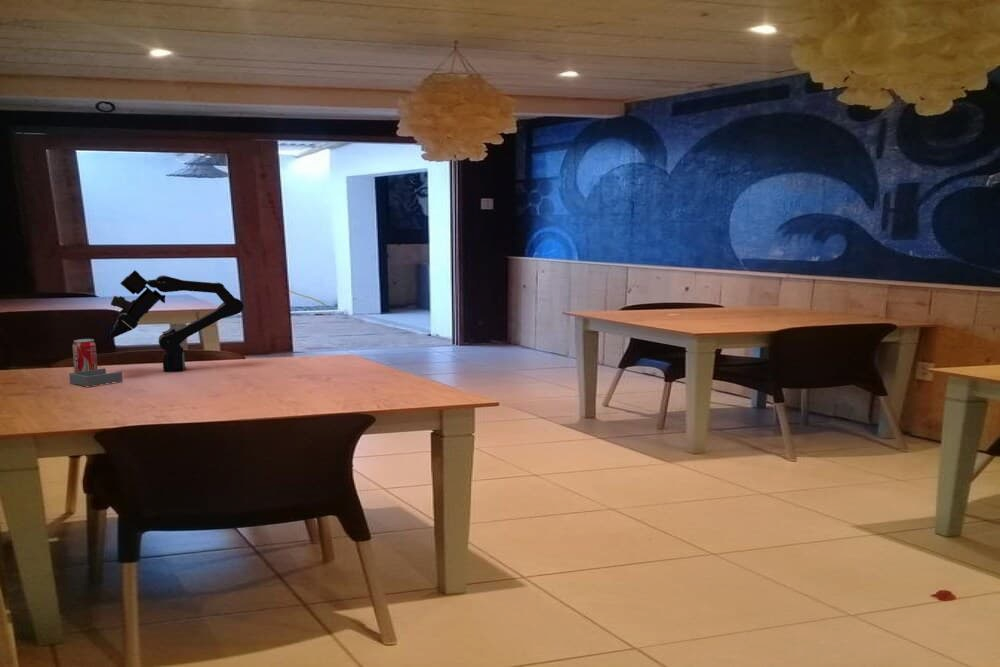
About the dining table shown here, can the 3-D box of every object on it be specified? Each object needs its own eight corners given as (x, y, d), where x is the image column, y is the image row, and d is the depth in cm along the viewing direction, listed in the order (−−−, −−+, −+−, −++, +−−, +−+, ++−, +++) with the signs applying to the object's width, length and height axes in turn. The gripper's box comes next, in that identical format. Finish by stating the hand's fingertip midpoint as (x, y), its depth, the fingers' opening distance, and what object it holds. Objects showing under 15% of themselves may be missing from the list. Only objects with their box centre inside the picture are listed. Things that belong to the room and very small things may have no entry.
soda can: (95, 374, 272) (92, 338, 270) (100, 377, 266) (97, 340, 265) (72, 376, 267) (69, 339, 266) (77, 379, 262) (74, 342, 260)
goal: (105, 377, 265) (104, 368, 265) (122, 381, 258) (121, 371, 258) (70, 383, 256) (69, 373, 256) (87, 387, 249) (86, 377, 249)
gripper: (124, 286, 278) (92, 317, 274) (125, 289, 261) (90, 323, 257) (149, 307, 282) (117, 338, 279) (151, 311, 265) (117, 345, 262)
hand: (110, 335), depth 269 cm, fingers open, 9 cm apart
